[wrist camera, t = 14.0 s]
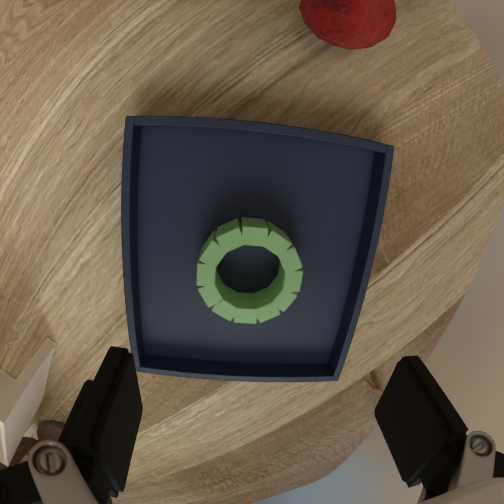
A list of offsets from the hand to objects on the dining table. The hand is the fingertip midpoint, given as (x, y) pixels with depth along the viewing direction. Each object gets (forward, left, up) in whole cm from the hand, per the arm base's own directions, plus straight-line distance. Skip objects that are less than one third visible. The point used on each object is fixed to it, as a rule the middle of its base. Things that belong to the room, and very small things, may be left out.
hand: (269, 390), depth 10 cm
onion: (-4, -17, -14) cm, 22 cm away
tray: (0, +1, -13) cm, 13 cm away
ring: (0, +1, -13) cm, 13 cm away
